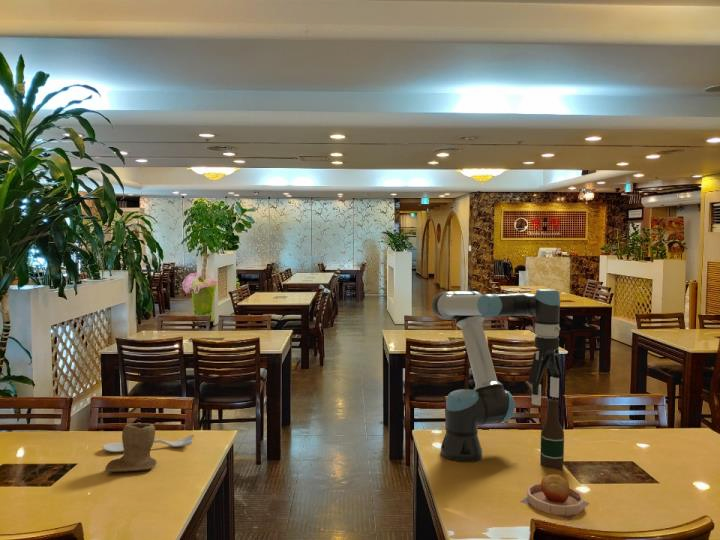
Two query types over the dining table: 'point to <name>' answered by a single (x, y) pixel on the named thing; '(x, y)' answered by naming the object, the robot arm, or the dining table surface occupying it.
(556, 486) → the fruit
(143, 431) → the brown boot
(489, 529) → the dining table surface
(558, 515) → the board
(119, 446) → the spoon
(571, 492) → the bowl
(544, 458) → the beer bottle
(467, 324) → the robot arm
